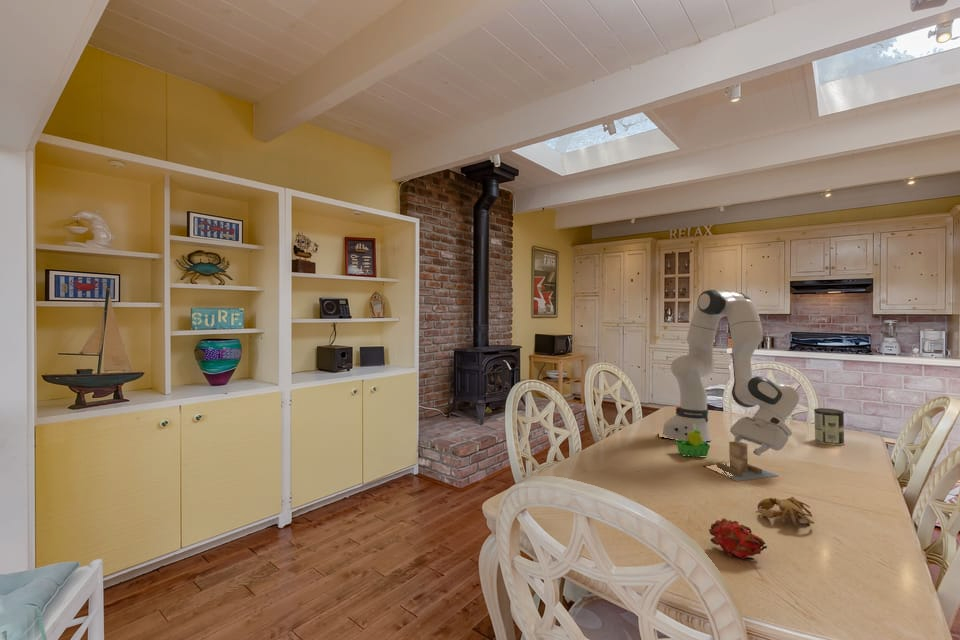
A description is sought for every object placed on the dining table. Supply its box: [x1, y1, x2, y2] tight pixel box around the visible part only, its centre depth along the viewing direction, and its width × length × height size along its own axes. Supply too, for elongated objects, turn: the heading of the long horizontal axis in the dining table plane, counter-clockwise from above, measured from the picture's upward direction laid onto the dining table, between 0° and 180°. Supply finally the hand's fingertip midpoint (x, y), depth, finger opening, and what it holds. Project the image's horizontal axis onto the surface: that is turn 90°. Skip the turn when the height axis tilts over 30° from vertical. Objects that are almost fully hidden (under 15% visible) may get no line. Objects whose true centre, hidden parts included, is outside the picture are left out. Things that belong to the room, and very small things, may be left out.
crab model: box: [756, 496, 815, 528], centre depth 120 cm, size 16×13×6 cm
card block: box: [728, 441, 749, 472], centre depth 157 cm, size 4×4×10 cm
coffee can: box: [813, 407, 845, 446], centre depth 190 cm, size 10×10×14 cm
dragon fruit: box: [708, 517, 768, 561], centre depth 102 cm, size 8×8×12 cm
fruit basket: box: [675, 430, 711, 457], centre depth 175 cm, size 11×9×11 cm
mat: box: [715, 462, 779, 482], centre depth 157 cm, size 18×16×2 cm
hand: (745, 450), depth 158 cm, fingers open, 8 cm apart
